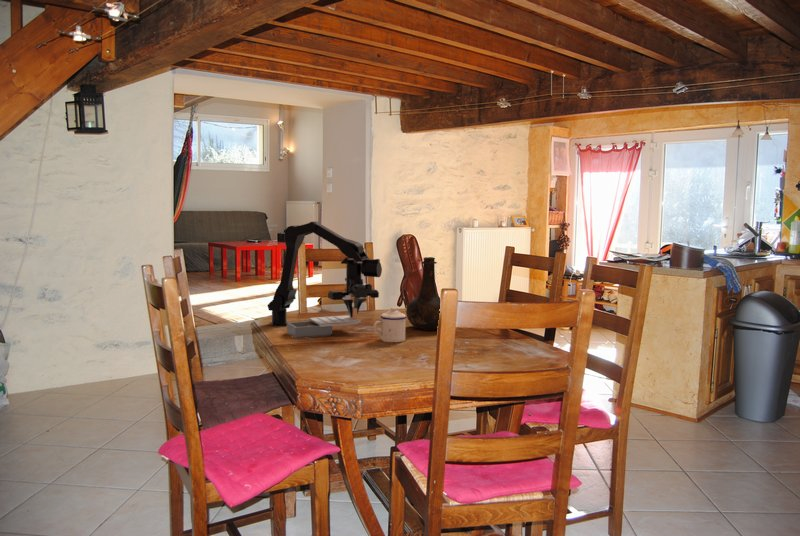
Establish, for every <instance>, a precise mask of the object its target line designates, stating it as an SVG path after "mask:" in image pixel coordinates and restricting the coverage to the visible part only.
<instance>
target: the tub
mask: <svg viewBox="0 0 800 536" xmlns="http://www.w3.org/2000/svg"><path fill="white" fill-rule="evenodd" d="M287 333H288V334H287ZM286 334H287V335H289V336H290V335H291V337H292V336H293V337H294V339H295V338H297V339H306V338H305V337H309V338H320V337H319V336H321V337H332V336H333V326H324V327H320V326H319V325H318V324H316V323H315V322H313V321H310V320H307V321H305V320H304V321H292V322H291V321H290V322H287V325H286ZM331 335H332V336H331ZM293 337H292V338H293Z"/></svg>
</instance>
